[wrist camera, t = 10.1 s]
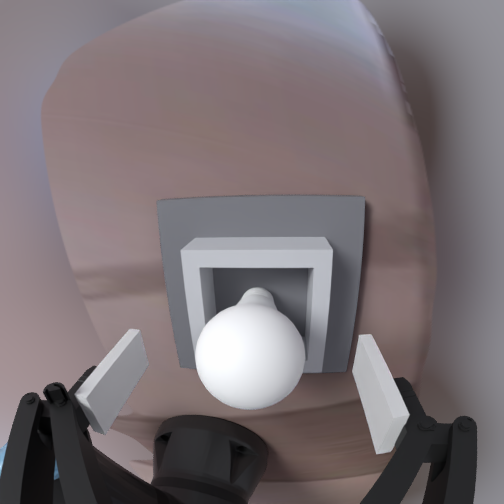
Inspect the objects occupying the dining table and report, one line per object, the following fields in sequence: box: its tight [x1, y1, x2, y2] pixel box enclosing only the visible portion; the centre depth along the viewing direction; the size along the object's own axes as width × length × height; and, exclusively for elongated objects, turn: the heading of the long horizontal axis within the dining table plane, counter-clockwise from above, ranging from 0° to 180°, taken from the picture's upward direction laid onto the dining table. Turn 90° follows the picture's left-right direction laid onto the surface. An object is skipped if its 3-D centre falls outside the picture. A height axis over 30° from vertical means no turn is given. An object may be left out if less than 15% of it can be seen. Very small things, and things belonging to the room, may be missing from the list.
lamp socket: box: [157, 195, 365, 373], centre depth 22 cm, size 16×16×5 cm
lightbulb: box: [195, 287, 305, 410], centre depth 18 cm, size 6×6×11 cm
